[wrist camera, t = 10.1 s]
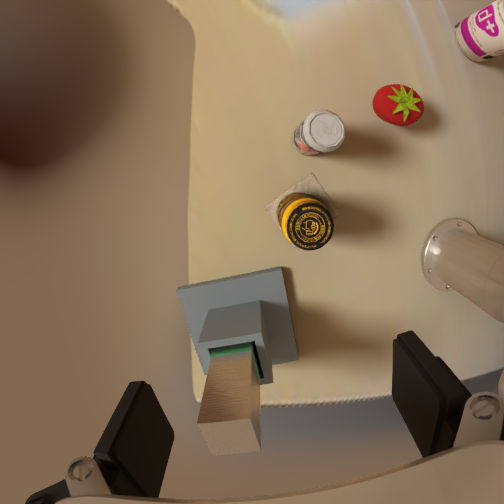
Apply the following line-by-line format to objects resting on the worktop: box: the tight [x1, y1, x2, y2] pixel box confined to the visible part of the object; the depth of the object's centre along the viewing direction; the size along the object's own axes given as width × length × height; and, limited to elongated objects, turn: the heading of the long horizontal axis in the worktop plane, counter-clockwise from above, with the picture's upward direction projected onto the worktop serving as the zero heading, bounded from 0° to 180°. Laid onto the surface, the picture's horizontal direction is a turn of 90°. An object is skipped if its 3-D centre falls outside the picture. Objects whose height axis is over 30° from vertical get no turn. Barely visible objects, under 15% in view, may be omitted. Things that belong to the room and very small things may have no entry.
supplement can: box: [454, 0, 504, 62], centre depth 29 cm, size 8×8×15 cm
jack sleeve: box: [176, 267, 299, 385], centre depth 44 cm, size 16×16×12 cm
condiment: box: [264, 173, 340, 250], centre depth 40 cm, size 7×8×12 cm
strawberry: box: [373, 84, 424, 126], centre depth 36 cm, size 6×8×10 cm
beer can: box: [292, 110, 346, 156], centre depth 37 cm, size 5×5×12 cm
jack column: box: [197, 341, 261, 455], centre depth 34 cm, size 5×5×17 cm
